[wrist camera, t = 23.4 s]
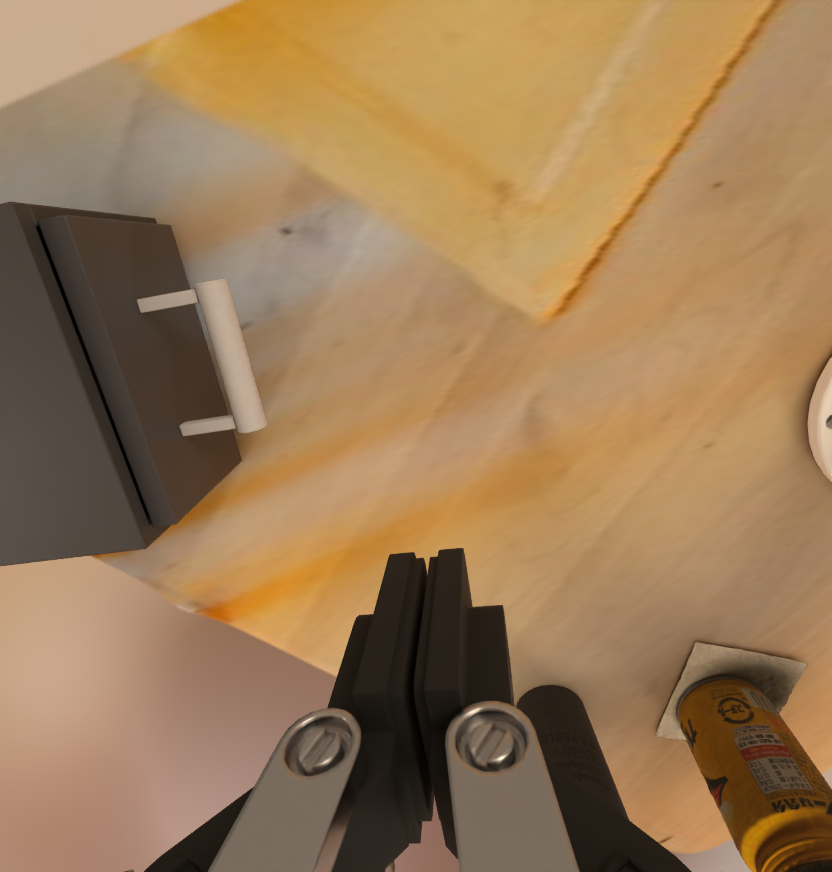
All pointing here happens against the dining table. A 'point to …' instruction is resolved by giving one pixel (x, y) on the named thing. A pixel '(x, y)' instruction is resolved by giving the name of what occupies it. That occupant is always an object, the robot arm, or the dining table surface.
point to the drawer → (156, 356)
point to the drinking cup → (570, 739)
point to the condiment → (753, 757)
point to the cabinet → (55, 416)
